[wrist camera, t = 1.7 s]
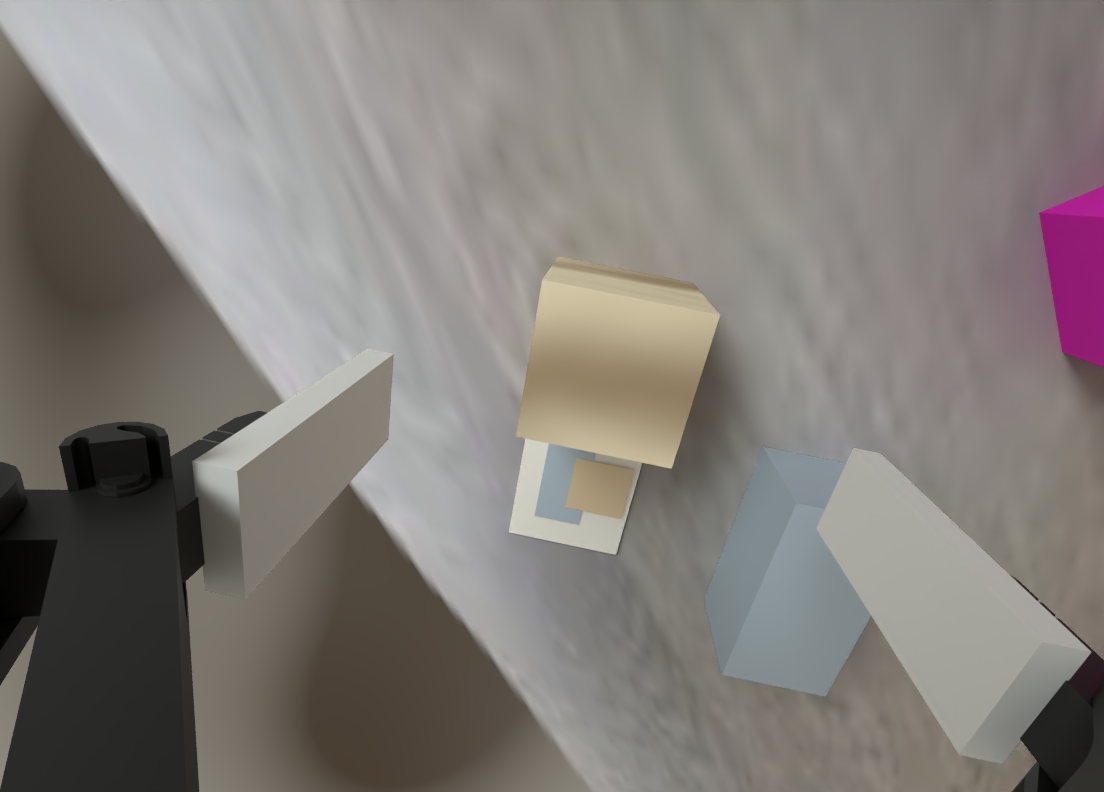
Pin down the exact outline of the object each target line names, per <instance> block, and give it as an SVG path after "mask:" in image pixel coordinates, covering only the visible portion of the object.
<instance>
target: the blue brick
mask: <svg viewBox="0 0 1104 792" xmlns="http://www.w3.org/2000/svg"><path fill="white" fill-rule="evenodd" d="M845 465H846V463H843V462H838V461H833V460H828V459H823V458H818V457H813V456H808V455H803V454H798V453H793V452H788V451H783V450H778V449H773V448H768V447H762V450H761V453H760V455H759V458H758V460H757V463H756V466H755V468H754V471H753V473H752V476H751V479H750V481H749V484H748V486H747V489H746V492H745V494H744V497H743V499H742V502H741V505H740V507H739V510H738V512H737V515H736V518H735V520H734V523H733V525H732V528H731V531H730V533H729V536H728V538H727V541H726V544H725V546H724V549H723V551H722V554H721V557H720V559H719V562H718V564H717V567H716V570H715V572H714V575H713V577H712V580H711V583H710V585H709V588H708V590H707V593H706V596H705V598H704V602H705V606H706V610H707V615H708V619H709V623H710V628H711V632H712V636H713V640H714V645H715V649H716V653H717V658H718V662H719V666H720V670H721V675H724V676H729V677H734V678H738V679H743V680H748V681H752V682H757V683H762V684H767V685H771V686H776V687H781V688H786V689H790V690H795V691H800V692H805V693H809V694H814V695H819V696H823V697H826V695H827V693H828V691H829V690H830V688H831V686H832V684H833V683H834V681H835V679H836V677H837V676H838V674H839V672H840V670H841V669H842V667H843V665H844V663H845V661H846V660H847V658H848V656H849V654H850V653H851V651H852V649H853V647H854V646H855V644H856V642H857V640H858V639H859V637H860V635H861V633H862V632H863V630H864V628H865V626H866V624H867V623H868V621H869V619H870V617H871V615H870V613H869V611H868V610H867V608H866V607H865V605H864V604H863V602H862V600H861V599H860V597H859V596H858V594H857V592H856V591H855V589H854V588H853V586H852V584H851V583H850V581H849V580H848V578H847V577H846V575H845V573H844V572H843V570H842V569H841V567H840V565H839V564H838V562H837V561H836V559H835V558H834V556H833V554H832V553H831V551H830V550H829V548H828V546H827V545H826V543H825V542H824V540H823V539H822V537H821V535H820V534H819V532H818V531H817V529H816V528H817V526H818V524H819V521H820V519H821V517H822V515H823V513H824V511H825V508H826V506H827V504H828V502H829V500H830V497H831V495H832V493H833V491H834V489H835V487H836V484H837V482H838V480H839V478H840V476H841V473H842V471H843V469H844V467H845Z"/></svg>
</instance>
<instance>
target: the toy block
mask: <svg viewBox="0 0 1104 792" xmlns="http://www.w3.org/2000/svg"><path fill="white" fill-rule="evenodd" d="M1039 214H1040V220H1041V226H1042V232H1043V238H1044V244H1045V251H1046V257H1047V263H1048V269H1049V275H1050V281H1051V287H1052V293H1053V299H1054V306H1055V312H1056V318H1057V324H1058V330H1059V336H1060V342H1061V348H1062V352H1064V353H1067V354H1069V355H1072V356H1075V357H1077V358H1080V359H1083V360H1085V361H1088V362H1091V363H1094V364H1096V365H1099V366H1102V367H1104V186H1103V187H1101V188H1098V189H1096V190H1093V191H1091V192H1089V193H1086V194H1084V195H1081V196H1079V197H1077V198H1074V199H1072V200H1069V201H1067V202H1064V203H1062V204H1060V205H1057V206H1055V207H1052V208H1050V209H1048V210H1045V211H1043V212H1040V213H1039Z"/></svg>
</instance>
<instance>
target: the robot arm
mask: <svg viewBox="0 0 1104 792" xmlns="http://www.w3.org/2000/svg"><path fill="white" fill-rule="evenodd" d="M393 355H394V354H391V353H386V352H381V351H376V350H371V349H366V350H365V351H363V352H361V353H360V354H358V355H357V356H355V357H354V358H352V359H351V360H349V361H347V362H346V363H344V364H343V365H341V366H340V367H338V368H337V369H335V370H334V371H332V372H330V373H329V374H327V375H326V376H324V377H323V378H321V379H320V380H318V381H316V382H315V383H313V384H312V385H310V386H309V387H307V388H306V389H304V390H302V391H301V392H299V393H298V394H296V395H295V396H293V397H292V398H290V399H288V400H287V401H285V402H284V403H282V404H281V405H279V406H278V407H276V408H275V409H273V410H271V411H270V412H268V413H266V412H262V411H257V412H253V413H250V414H247V415H244V416H241V417H237V418H234V419H233V420H231V421H230V422H228V423H226V424H224V425H223V426H221V427H219V428H218V429H217V431H213V432H211V433H209V434H208V435H206V436H204V437H203V439H202V440H198V441H196V442H194V443H193V444H191V445H189V446H188V447H186V448H185V449H183V450H181V451H179V452H178V453H176V454H175V455H173V456H170V448H169V440H168V435H167V433H166V431H165V430H164V429H163V428H161V427H159V426H156V425H154V424H149V423H141V422H117V423H110V424H104V425H98V426H94V427H91V428H87V429H84V430H81V431H78V432H77V433H75V434H73V435H71V436H69V437H67V438H66V439H65V440H64V441H63V442H62V443H61V445H60V446H59V449H60V454H61V458H62V463H63V467H64V472H65V477H66V482H67V486H68V490H25V489H24V486H23V481H22V478H21V474H20V472H19V470H18V469H17V468H16V466H13V465H10V464H7V463H4V462H0V685H1V683H2V682H3V680H4V678H5V677H6V675H7V674H8V672H9V670H10V669H11V667H12V666H13V664H14V662H15V661H16V659H17V658H18V656H19V654H20V653H21V651H22V650H23V648H24V647H25V645H26V643H27V642H28V640H29V638H30V637H31V635H32V634H33V632H34V631H35V629H36V627H37V626H38V628H37V632H36V636H35V641H34V645H33V650H32V654H31V658H30V662H29V667H28V672H27V675H26V680H25V684H24V689H23V693H22V698H21V702H20V706H19V710H18V715H17V719H16V723H15V728H14V732H13V736H12V740H11V745H10V749H9V753H8V758H7V762H6V766H5V771H4V775H3V779H2V784H1V788H0V792H199V780H198V763H197V748H196V731H195V716H194V699H193V681H192V665H191V649H190V632H189V616H188V600H187V590H186V580H187V579H189V577H190V576H192V575H193V574H194V573H195V572H196V571H197V570H198V569H199V568H200V567H201V566H203V572H204V583H205V590H206V591H210V592H215V593H219V594H224V595H229V596H233V597H238V598H242V599H246V598H247V597H248V596H249V595H250V593H251V592H252V591H253V590H254V589H255V587H257V586H258V585H259V583H260V582H261V581H262V580H263V579H264V578H265V577H266V576H267V574H268V573H269V572H270V571H271V570H272V569H273V568H274V566H275V565H276V564H277V563H278V562H279V561H280V560H281V559H282V558H283V557H284V555H285V554H286V553H287V552H288V551H289V550H290V549H291V548H292V546H293V545H294V544H295V543H296V542H297V541H298V540H299V538H300V537H301V536H302V535H303V534H304V533H305V532H306V531H307V530H308V529H309V527H310V526H311V525H312V524H313V523H314V522H315V521H316V520H317V518H318V517H319V516H320V515H321V514H322V513H323V512H324V510H325V509H326V508H327V507H328V506H329V505H330V504H331V503H332V502H333V501H334V499H335V498H336V497H337V496H338V495H339V494H340V493H341V492H342V490H343V489H344V488H345V487H346V486H347V485H348V484H349V483H350V481H351V480H352V479H353V478H354V477H355V476H356V475H357V474H358V472H359V471H360V470H361V469H362V468H363V467H364V466H365V465H366V464H367V462H368V461H369V460H370V459H371V458H372V457H373V456H374V455H375V453H376V452H377V451H378V450H379V449H380V448H381V447H382V446H383V444H384V443H385V442H386V441H387V440H388V434H389V418H390V402H391V387H392V371H393ZM816 529H817V531H818V532H819V534H820V535H821V537H822V539H823V540H824V542H825V543H826V545H827V546H828V548H829V550H830V551H831V553H832V554H833V556H834V558H835V559H836V561H837V562H838V564H839V565H840V567H841V569H842V570H843V572H844V573H845V575H846V577H847V578H848V580H849V581H850V583H851V584H852V586H853V588H854V589H855V591H856V592H857V594H858V596H859V597H860V599H861V600H862V602H863V604H864V605H865V607H866V608H867V610H868V611H869V613H870V615H871V616H872V618H873V619H874V621H875V623H876V624H877V626H878V627H879V629H880V630H881V632H882V634H883V635H884V637H885V638H886V640H887V642H888V643H889V645H890V646H891V648H892V650H893V651H894V653H895V654H896V656H897V657H898V659H899V661H900V662H901V664H902V665H903V667H904V669H905V670H906V672H907V673H908V675H909V676H910V678H911V680H912V681H913V683H914V684H915V686H916V688H917V689H918V691H919V692H920V694H921V696H922V697H923V699H924V700H925V702H926V703H927V705H928V707H929V708H930V710H931V711H932V713H933V715H934V716H935V718H936V719H937V721H938V722H939V724H940V726H941V727H942V729H943V730H944V732H945V734H946V735H947V737H948V738H949V740H950V741H951V743H952V745H953V746H954V748H955V749H956V751H957V753H958V754H959V755H962V756H966V757H971V758H976V759H980V760H985V761H989V762H994V763H999V764H1003V763H1004V761H1005V760H1006V759H1007V758H1008V756H1009V755H1010V754H1011V753H1012V751H1013V750H1014V749H1015V748H1016V746H1017V745H1018V744H1019V743H1020V741H1022V742H1023V743H1024V745H1025V746H1026V747H1027V748H1028V750H1029V751H1030V752H1031V754H1032V755H1033V756H1034V758H1035V759H1036V760H1037V762H1036V763H1035V765H1034V766H1033V767H1032V768H1031V769H1030V771H1029V772H1028V773H1027V774H1026V775H1025V777H1024V778H1023V779H1022V780H1021V781H1020V783H1019V784H1018V785H1017V786H1016V787H1015V789H1014V790H1013V791H1012V792H1104V660H1103V659H1102V658H1101V657H1100V656H1099V655H1098V654H1096V653H1095V652H1094V651H1093V650H1092V649H1091V648H1090V647H1089V646H1088V645H1087V644H1086V643H1085V642H1084V641H1083V640H1081V639H1080V638H1079V637H1078V636H1077V635H1076V634H1075V633H1074V632H1073V631H1072V630H1071V629H1070V628H1069V627H1068V626H1066V625H1065V624H1064V623H1063V622H1062V621H1061V620H1060V619H1057V618H1055V614H1054V613H1053V612H1051V611H1050V610H1049V609H1048V608H1047V607H1046V606H1045V605H1044V604H1043V603H1040V602H1038V598H1037V597H1035V596H1034V595H1033V594H1032V593H1031V592H1030V591H1029V590H1028V589H1027V588H1026V587H1025V586H1024V585H1023V584H1022V583H1020V582H1019V581H1018V580H1017V579H1016V578H1014V577H1013V576H1011V575H1010V574H1008V573H1007V572H1006V571H1005V570H1004V569H1003V568H1002V567H1001V566H1000V565H999V564H997V563H996V562H995V561H994V560H993V559H992V558H991V557H990V556H989V555H988V554H987V553H986V552H985V551H984V550H983V549H982V548H980V547H979V546H978V545H977V544H976V543H975V542H974V541H973V540H972V539H971V538H970V537H969V536H968V535H967V534H966V533H965V532H963V531H962V530H961V529H960V528H959V527H958V526H957V525H956V524H955V523H954V522H953V521H952V520H951V519H950V518H949V517H948V516H946V515H945V514H944V513H943V512H942V511H941V510H940V509H939V508H938V507H937V506H936V505H935V504H934V503H933V502H932V501H931V500H929V499H928V498H927V497H926V496H925V495H924V494H923V493H922V492H921V491H920V490H919V489H918V488H917V487H916V486H915V485H914V484H912V483H911V482H910V481H909V480H908V479H907V478H906V477H905V476H904V475H903V474H902V473H901V472H900V471H899V470H898V469H897V468H895V467H894V466H893V465H892V464H891V463H890V462H889V461H888V460H887V459H886V458H885V457H884V456H883V455H882V454H880V453H875V452H871V451H866V450H861V449H856V448H853V449H852V452H851V454H850V456H849V458H848V460H847V463H846V465H845V467H844V469H843V471H842V473H841V476H840V478H839V480H838V482H837V484H836V487H835V489H834V491H833V493H832V495H831V497H830V500H829V502H828V504H827V506H826V508H825V511H824V513H823V515H822V517H821V519H820V521H819V524H818V526H817V528H816Z"/></svg>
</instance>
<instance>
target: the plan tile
mask: <svg viewBox="0 0 1104 792" xmlns="http://www.w3.org/2000/svg"><path fill="white" fill-rule="evenodd" d="M641 466H642V463H641V462H637V461H632V460H627V459H622V458H617V457H612V456H608V455H603V454H598V453H593V452H588V451H583V450H579V449H574V448H569V447H564V446H559V445H554V444H550V443H545V442H540V441H535V440H530V439H525V444H524V450H523V456H522V461H521V467H520V472H519V478H518V484H517V489H516V495H515V501H514V506H513V512H512V517H511V523H510V529H509V532H510V533H515V534H519V535H524V536H529V537H534V538H538V539H543V540H548V541H553V542H557V543H562V544H567V545H571V546H576V547H581V548H586V549H590V550H595V551H600V552H605V553H609V554H614V555H616V553H617V549H618V546H619V542H620V539H621V535H622V532H623V529H624V525H625V522H626V518H627V515H628V511H629V508H630V504H631V501H632V497H633V494H634V490H635V487H636V483H637V480H638V476H639V473H640V469H641Z"/></svg>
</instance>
